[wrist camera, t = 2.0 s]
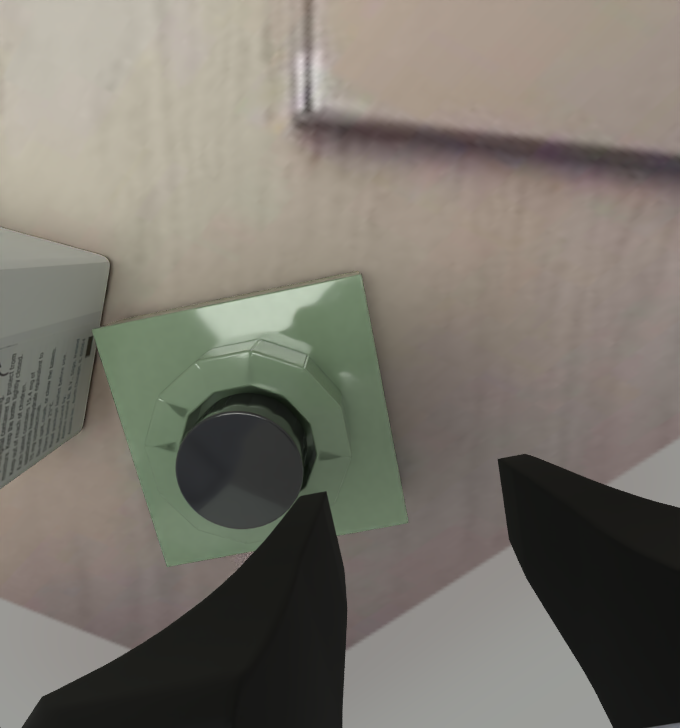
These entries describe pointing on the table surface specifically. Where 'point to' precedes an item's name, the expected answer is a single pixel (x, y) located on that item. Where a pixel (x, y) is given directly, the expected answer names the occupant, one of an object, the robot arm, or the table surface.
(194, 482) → the dark grey push button
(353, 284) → the push button base
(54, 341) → the container
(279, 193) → the table surface
